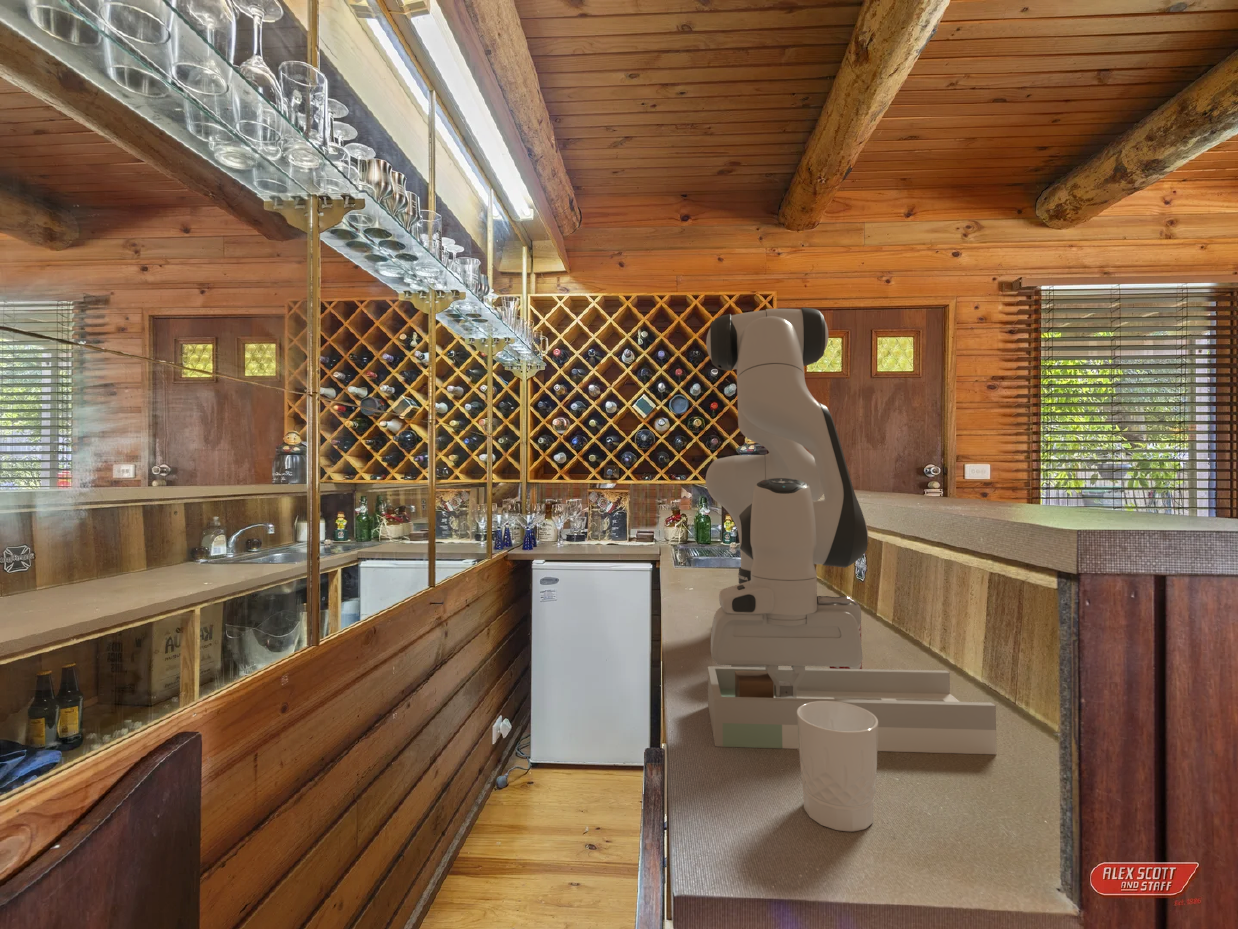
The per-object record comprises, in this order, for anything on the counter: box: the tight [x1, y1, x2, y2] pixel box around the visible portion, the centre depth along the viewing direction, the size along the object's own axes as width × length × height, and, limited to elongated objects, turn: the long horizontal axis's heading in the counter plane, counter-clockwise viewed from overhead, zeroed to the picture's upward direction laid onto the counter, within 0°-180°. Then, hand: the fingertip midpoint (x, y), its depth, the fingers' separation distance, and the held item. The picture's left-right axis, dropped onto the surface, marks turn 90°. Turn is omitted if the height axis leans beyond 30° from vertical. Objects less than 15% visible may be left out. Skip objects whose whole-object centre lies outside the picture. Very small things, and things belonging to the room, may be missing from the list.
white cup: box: [797, 701, 878, 833], centre depth 61 cm, size 8×8×10 cm
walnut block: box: [735, 671, 774, 698], centre depth 81 cm, size 4×4×4 cm
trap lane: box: [707, 666, 998, 755], centre depth 81 cm, size 13×34×6 cm, turn 85°
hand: (785, 696), depth 81 cm, fingers closed
